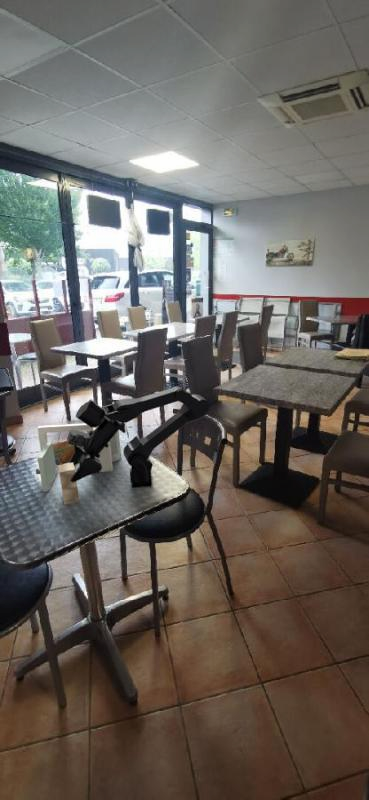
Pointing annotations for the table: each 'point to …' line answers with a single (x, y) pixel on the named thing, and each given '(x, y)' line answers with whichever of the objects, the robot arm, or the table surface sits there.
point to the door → (47, 466)
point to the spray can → (115, 447)
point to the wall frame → (43, 430)
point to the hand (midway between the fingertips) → (70, 474)
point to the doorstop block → (68, 483)
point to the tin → (62, 452)
